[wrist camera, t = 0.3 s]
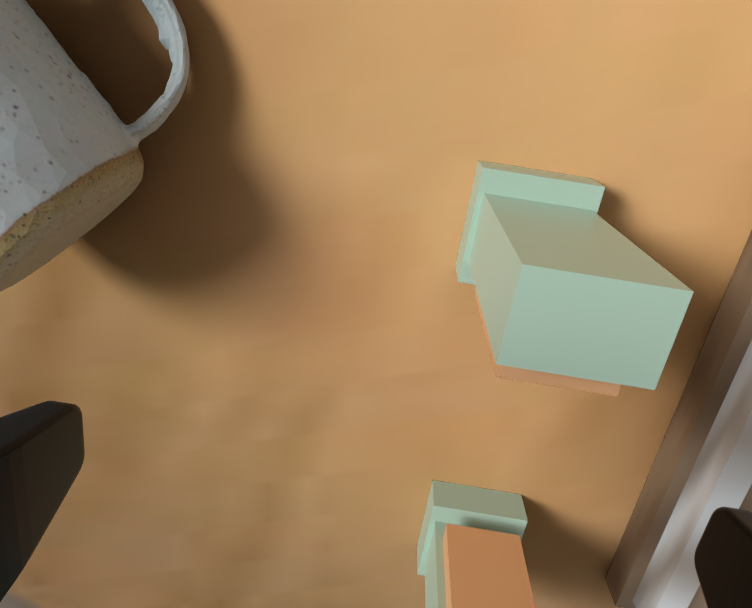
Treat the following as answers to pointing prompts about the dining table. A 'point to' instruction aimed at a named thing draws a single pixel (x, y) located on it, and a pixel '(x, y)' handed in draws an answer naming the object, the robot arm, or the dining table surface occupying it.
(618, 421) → the dining table surface
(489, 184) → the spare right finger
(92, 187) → the ceramic mug
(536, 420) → the dining table surface
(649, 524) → the rail board
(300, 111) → the dining table surface
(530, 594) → the stepped sage green block
